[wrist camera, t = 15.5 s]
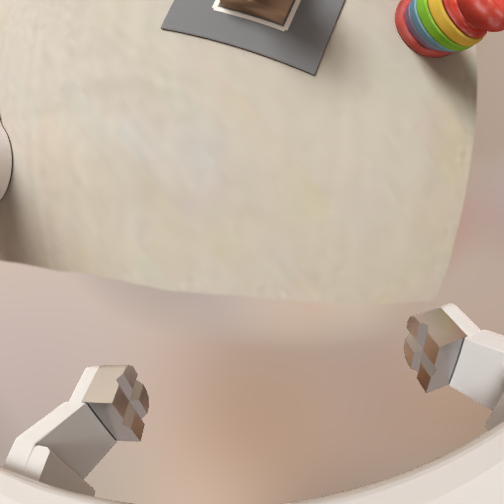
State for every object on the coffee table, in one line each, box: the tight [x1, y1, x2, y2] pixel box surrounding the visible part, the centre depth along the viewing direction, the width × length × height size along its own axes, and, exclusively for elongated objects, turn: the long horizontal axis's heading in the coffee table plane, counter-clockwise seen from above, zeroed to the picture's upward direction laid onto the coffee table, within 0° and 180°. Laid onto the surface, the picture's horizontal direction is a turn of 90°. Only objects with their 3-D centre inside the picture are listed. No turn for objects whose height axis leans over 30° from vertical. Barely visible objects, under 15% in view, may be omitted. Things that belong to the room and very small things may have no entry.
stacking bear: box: [395, 0, 504, 57], centre depth 20 cm, size 11×10×18 cm
